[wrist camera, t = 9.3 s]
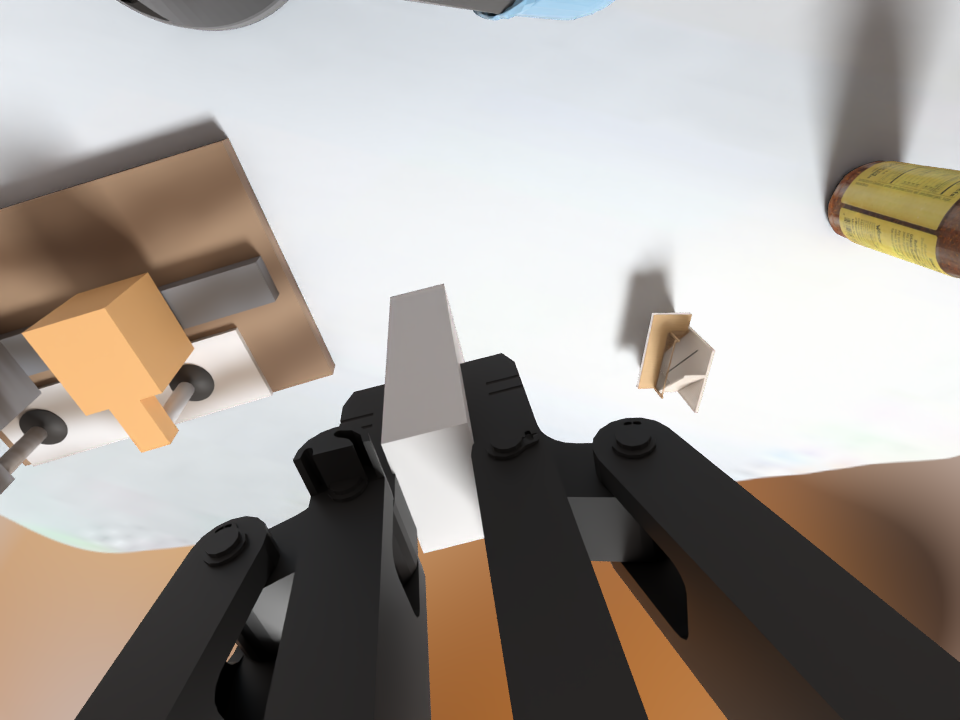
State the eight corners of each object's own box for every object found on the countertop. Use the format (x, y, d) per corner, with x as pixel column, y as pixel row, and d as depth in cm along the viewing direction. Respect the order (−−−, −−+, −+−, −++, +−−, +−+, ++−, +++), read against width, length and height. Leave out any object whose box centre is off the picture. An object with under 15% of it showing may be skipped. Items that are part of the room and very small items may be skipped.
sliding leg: (80, 291, 37) (21, 333, 31) (150, 269, 37) (104, 307, 31) (158, 404, 41) (119, 458, 36) (221, 385, 41) (192, 437, 36)
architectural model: (622, 368, 49) (655, 416, 42) (636, 296, 46) (674, 335, 39) (658, 368, 49) (696, 415, 43) (675, 296, 46) (719, 335, 40)
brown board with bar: (-141, 252, 37) (-296, 307, 28) (228, 138, 36) (176, 160, 28) (36, 454, 45) (-44, 539, 37) (335, 365, 45) (319, 432, 37)
